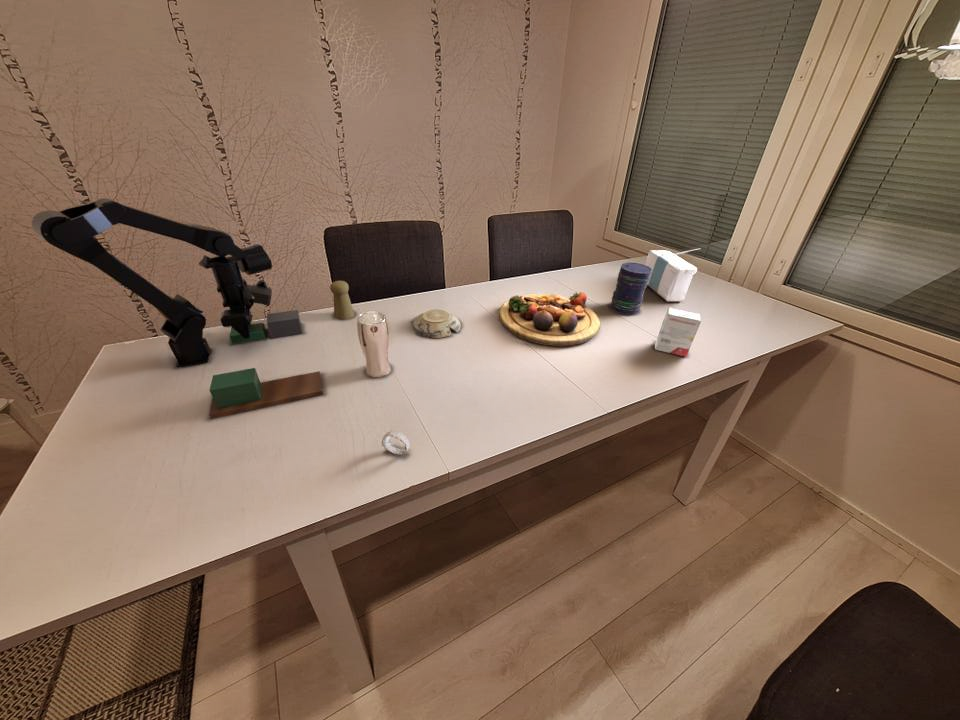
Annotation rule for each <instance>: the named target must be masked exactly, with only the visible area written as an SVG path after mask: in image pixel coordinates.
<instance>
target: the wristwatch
mask: <svg viewBox="0 0 960 720" xmlns="http://www.w3.org/2000/svg"><path fill="white" fill-rule="evenodd" d="M392 437H393V438H395V439H397V440H399V441H400V442H402V443H403V444H404V448H397V447H395V446H394V445H393V444H391V442H390V439H391V438H392ZM381 446H382V447H383V448H384V449H386V450H387V451H388V452H390V453H391V454H392V455H393V454H394V455H396V456H403V455H406V454H407V453H408V451H409V449H410V447H411V442H410V439H409V437H408V436H406V435H405V434H403V433H402V432H400V431H398V430H389V431H387V432H386V433H385V434H384V435H383V437H382V440H381Z"/></svg>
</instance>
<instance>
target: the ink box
mask: <svg viewBox="0 0 960 720" xmlns="http://www.w3.org/2000/svg"><path fill="white" fill-rule="evenodd" d="M701 323H702V318H701V314H699V313H695V312H690V311H685V310H680V309H676V308H672V307H668V308H667V310H666V312H665V314H664V318H663V321H662V324H661V327H660V329H659V332H658V335H657V336H656V337H657V338H656V341H655V343H654V349H655V351H661V352H664V353H669V354H673V355H677V356H680V357H687V356H688V354H689V351H690V348H691V346H692V344H693V341H694V339H695V337H696V334H697V332H698V330H699V327H700V325H701Z"/></svg>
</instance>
